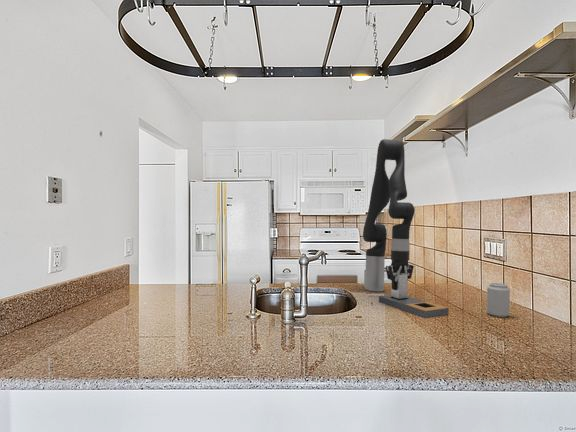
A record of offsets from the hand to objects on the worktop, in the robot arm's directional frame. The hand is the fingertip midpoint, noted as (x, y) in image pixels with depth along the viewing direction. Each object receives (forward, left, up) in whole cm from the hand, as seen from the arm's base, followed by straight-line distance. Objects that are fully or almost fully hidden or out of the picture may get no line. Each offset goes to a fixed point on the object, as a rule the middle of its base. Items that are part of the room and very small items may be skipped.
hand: (399, 289), depth 154 cm
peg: (0, 0, -3) cm, 3 cm away
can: (+28, +24, -6) cm, 37 cm away
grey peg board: (+7, 0, -6) cm, 10 cm away
